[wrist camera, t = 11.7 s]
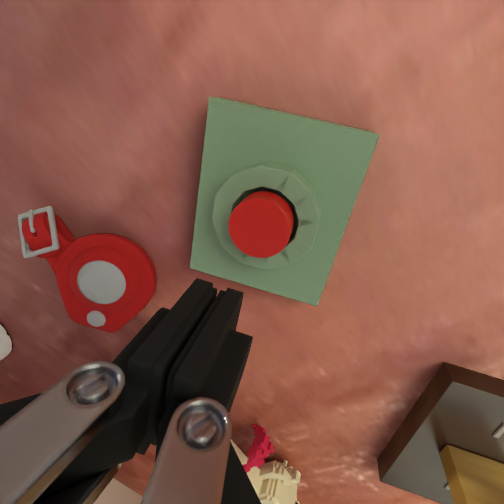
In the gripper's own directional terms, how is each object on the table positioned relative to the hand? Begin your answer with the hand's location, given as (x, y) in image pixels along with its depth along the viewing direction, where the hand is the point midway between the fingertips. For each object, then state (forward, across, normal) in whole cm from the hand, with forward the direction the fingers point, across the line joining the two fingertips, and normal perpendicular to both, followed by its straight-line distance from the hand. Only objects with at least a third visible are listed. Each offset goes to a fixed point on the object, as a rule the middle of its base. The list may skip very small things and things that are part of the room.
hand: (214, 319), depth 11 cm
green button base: (+13, 0, -1) cm, 13 cm away
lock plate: (+14, -21, +15) cm, 29 cm away
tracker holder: (+13, +14, +8) cm, 21 cm away
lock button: (+10, 0, -1) cm, 10 cm away
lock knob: (+12, -21, +15) cm, 28 cm away
